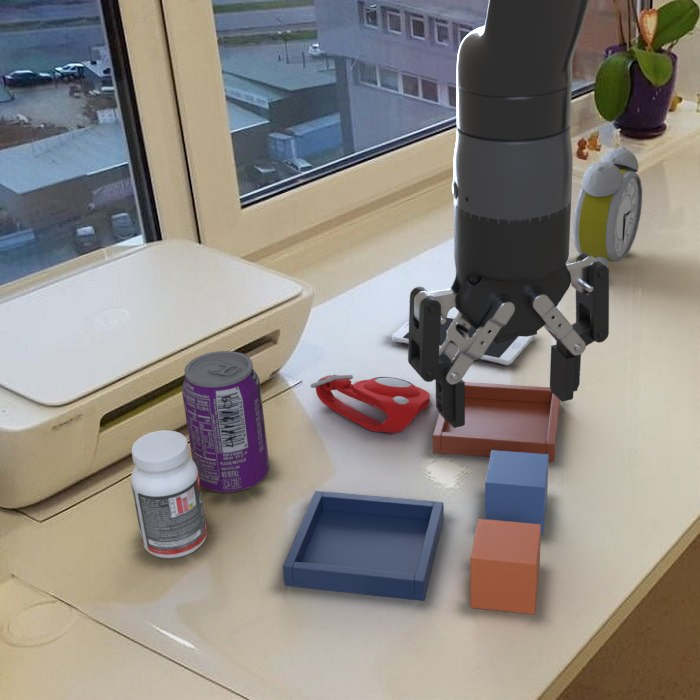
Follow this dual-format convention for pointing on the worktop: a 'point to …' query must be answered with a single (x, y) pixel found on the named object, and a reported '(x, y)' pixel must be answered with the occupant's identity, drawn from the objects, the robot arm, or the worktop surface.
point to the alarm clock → (609, 207)
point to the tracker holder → (375, 400)
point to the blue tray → (366, 545)
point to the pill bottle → (167, 495)
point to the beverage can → (225, 421)
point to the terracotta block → (505, 566)
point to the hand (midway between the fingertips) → (508, 408)
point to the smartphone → (494, 353)
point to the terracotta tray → (502, 421)
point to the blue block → (517, 487)
